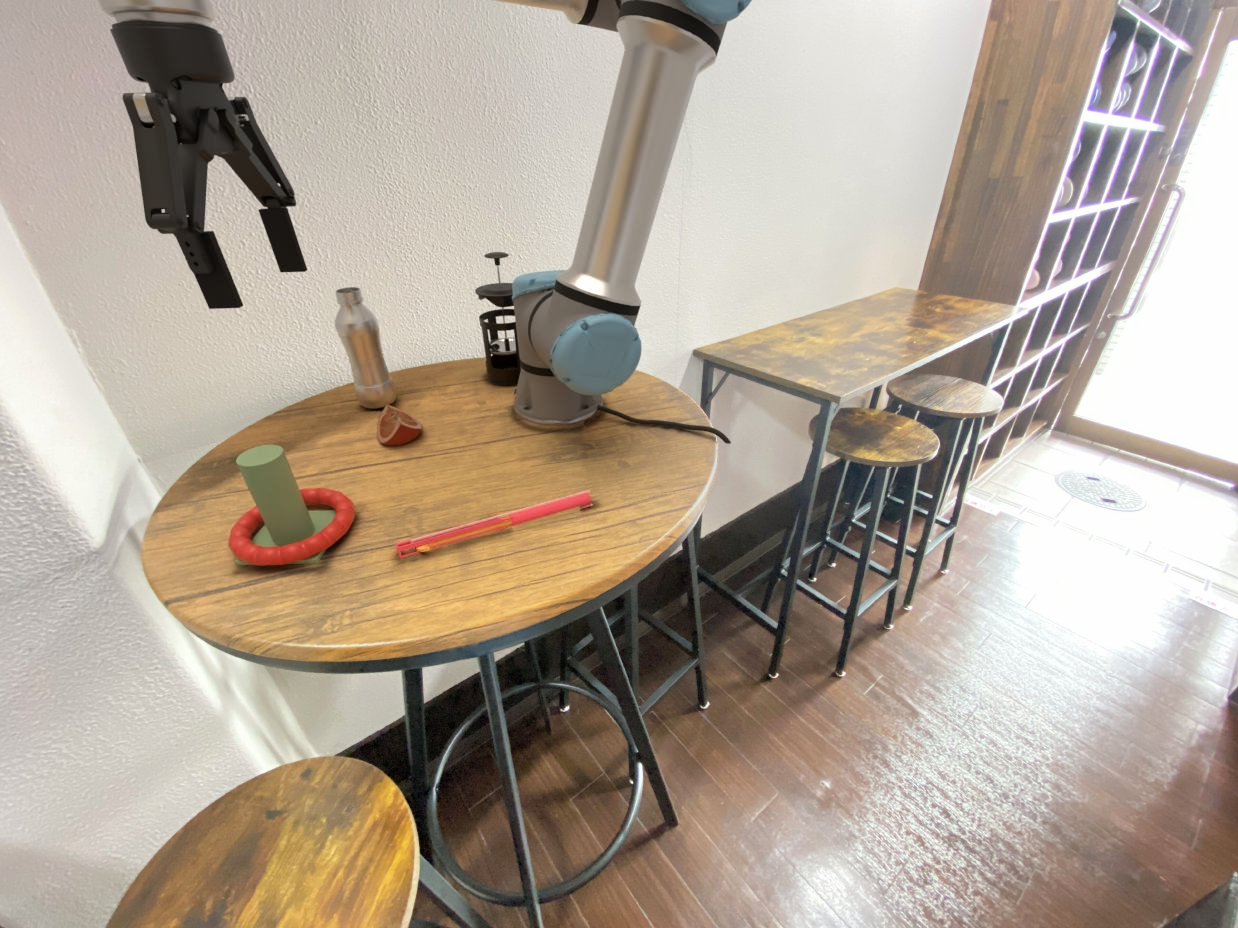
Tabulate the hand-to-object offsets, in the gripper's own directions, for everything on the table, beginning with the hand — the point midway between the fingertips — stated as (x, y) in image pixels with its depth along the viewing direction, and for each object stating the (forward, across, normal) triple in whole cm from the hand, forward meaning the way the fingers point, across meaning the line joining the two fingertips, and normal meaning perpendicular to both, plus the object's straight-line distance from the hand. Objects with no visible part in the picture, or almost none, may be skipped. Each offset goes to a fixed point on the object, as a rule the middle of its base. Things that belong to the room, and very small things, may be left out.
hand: (263, 288), depth 55 cm
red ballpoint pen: (+28, +6, +22) cm, 36 cm away
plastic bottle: (+28, -29, -5) cm, 41 cm away
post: (+28, +8, -2) cm, 29 cm away
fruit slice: (+28, -16, +3) cm, 32 cm away
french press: (+28, -40, +17) cm, 52 cm away
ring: (+25, +8, -2) cm, 27 cm away
